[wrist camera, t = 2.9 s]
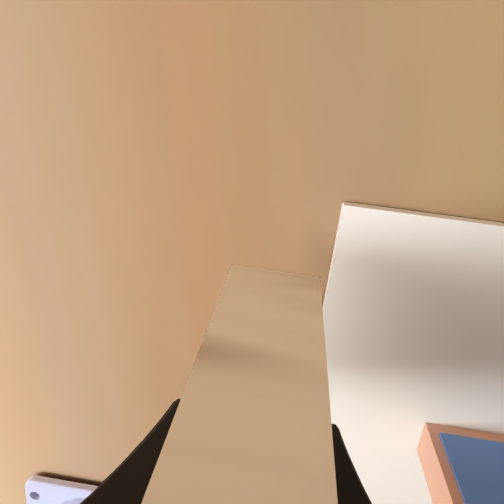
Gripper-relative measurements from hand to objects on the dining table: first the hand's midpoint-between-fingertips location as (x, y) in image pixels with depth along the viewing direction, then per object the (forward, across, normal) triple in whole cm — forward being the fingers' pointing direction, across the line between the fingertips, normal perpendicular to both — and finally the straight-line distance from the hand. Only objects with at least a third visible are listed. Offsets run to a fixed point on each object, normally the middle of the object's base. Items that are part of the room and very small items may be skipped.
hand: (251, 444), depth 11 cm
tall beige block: (+3, 0, 0) cm, 3 cm away
